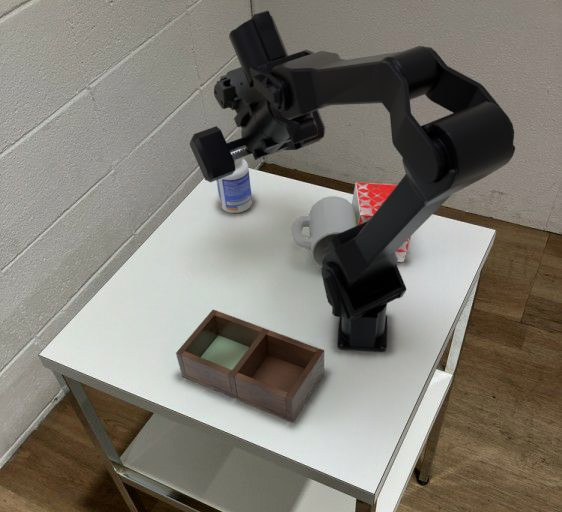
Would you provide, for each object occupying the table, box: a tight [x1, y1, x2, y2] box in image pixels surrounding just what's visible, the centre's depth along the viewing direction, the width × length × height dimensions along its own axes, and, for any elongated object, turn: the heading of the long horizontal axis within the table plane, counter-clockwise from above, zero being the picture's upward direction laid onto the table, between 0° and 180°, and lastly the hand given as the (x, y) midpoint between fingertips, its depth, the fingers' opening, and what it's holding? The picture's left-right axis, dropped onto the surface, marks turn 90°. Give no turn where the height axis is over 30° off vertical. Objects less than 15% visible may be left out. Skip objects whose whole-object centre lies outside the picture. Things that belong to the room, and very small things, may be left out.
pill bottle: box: [216, 149, 253, 214], centre depth 102 cm, size 5×5×10 cm
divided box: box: [175, 309, 325, 423], centre depth 80 cm, size 16×9×5 cm, turn 61°
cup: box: [290, 195, 358, 270], centre depth 94 cm, size 7×10×9 cm
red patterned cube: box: [351, 181, 412, 263], centre depth 94 cm, size 8×8×8 cm
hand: (242, 156), depth 95 cm, fingers open, 9 cm apart
